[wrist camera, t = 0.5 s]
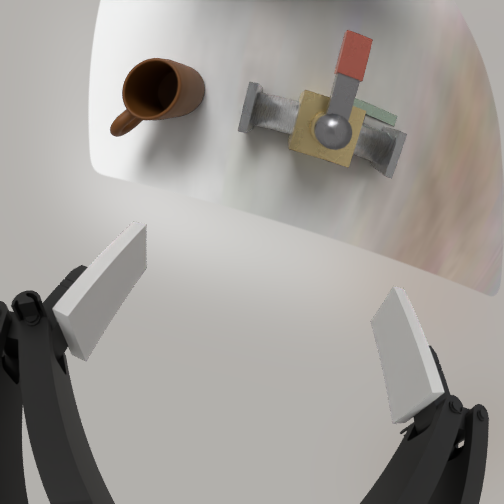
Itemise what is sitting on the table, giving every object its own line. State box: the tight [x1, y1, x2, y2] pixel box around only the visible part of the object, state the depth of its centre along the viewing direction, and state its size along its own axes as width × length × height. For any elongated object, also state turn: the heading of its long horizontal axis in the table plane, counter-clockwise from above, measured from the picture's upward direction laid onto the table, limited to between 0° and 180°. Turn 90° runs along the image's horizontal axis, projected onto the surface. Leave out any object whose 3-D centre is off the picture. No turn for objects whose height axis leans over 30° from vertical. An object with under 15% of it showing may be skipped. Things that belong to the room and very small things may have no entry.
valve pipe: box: [238, 82, 407, 179], centre depth 28 cm, size 9×20×9 cm, turn 77°
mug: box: [110, 58, 205, 137], centre depth 28 cm, size 12×8×9 cm, turn 126°
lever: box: [314, 30, 373, 150], centre depth 21 cm, size 13×4×2 cm, turn 167°
